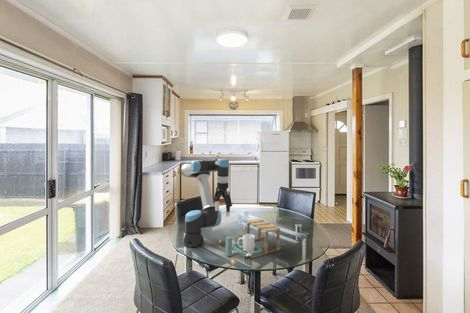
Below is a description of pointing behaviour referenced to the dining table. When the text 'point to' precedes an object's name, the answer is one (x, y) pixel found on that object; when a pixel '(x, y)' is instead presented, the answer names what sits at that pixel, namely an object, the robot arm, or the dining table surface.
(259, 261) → the dining table surface
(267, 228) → the wooden slat rack
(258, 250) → the sled
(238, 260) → the dining table surface
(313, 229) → the dining table surface
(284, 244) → the pit
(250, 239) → the cup
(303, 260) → the dining table surface
